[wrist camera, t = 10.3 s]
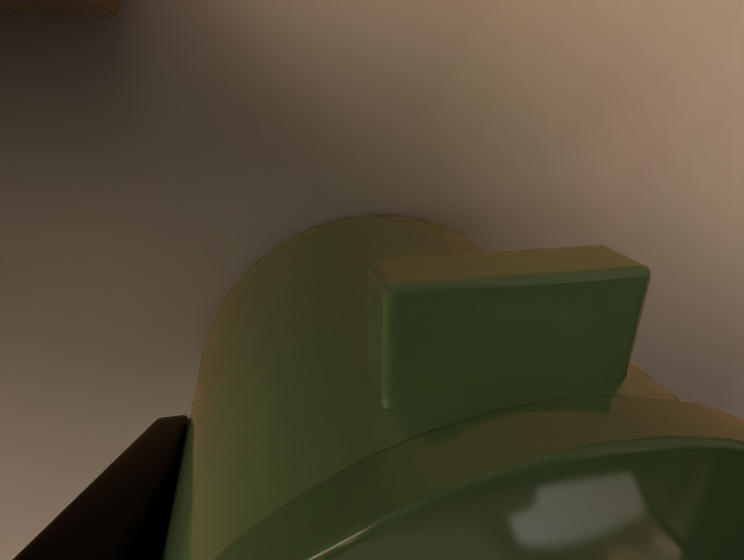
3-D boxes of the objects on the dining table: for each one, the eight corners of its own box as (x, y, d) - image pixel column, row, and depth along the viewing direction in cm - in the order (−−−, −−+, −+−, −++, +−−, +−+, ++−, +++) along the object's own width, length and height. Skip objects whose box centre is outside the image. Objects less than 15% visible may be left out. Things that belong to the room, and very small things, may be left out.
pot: (507, 499, 11) (820, 1027, 5) (213, 550, 10) (142, 1339, 4) (558, 159, 8) (1429, 392, 2) (156, 168, 7) (-557, 809, 1)
